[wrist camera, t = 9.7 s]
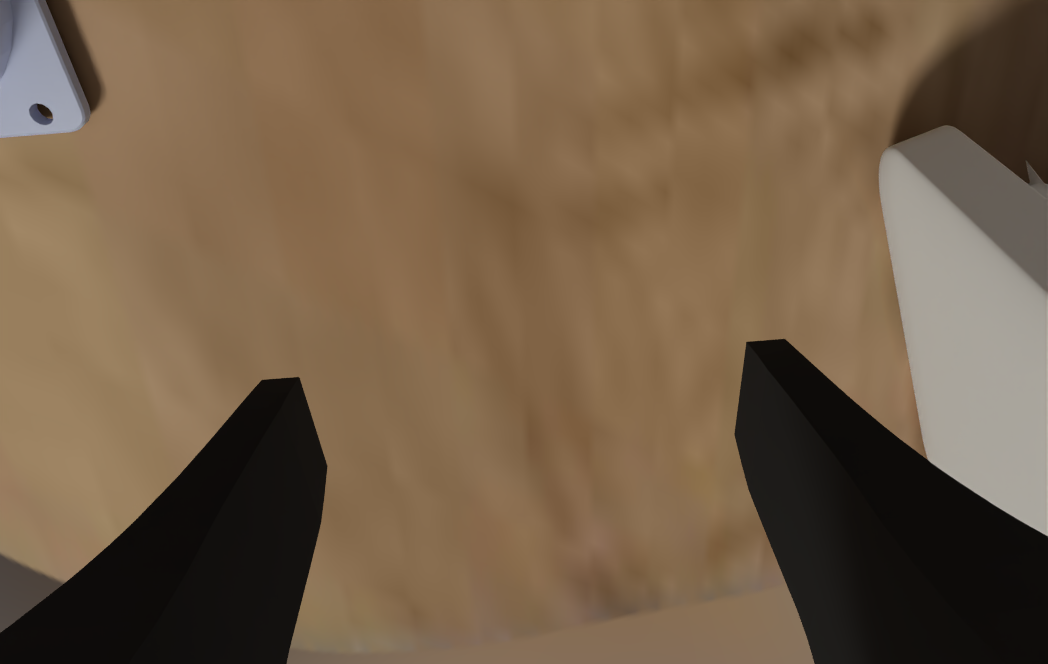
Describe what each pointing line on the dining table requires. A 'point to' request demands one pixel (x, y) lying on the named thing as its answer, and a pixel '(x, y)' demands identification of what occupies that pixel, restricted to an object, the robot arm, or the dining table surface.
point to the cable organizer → (974, 313)
